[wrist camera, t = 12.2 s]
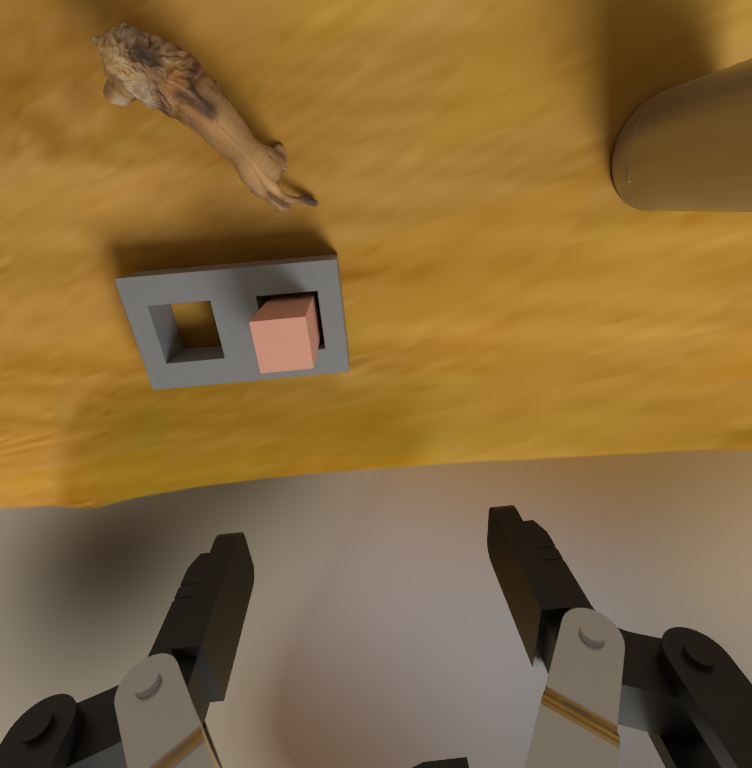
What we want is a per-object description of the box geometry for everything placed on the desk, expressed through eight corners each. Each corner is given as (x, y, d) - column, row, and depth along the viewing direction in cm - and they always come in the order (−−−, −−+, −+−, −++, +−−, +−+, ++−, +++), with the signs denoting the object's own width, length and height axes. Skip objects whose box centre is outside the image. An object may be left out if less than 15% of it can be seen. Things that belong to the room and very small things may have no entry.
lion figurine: (140, 111, 30) (64, 76, 22) (169, 41, 29) (98, -24, 21) (303, 229, 35) (289, 237, 27) (336, 174, 33) (332, 164, 25)
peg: (315, 289, 37) (305, 316, 28) (321, 329, 39) (313, 368, 29) (273, 293, 37) (249, 321, 28) (281, 333, 38) (260, 373, 29)
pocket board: (337, 253, 36) (336, 259, 32) (349, 356, 40) (349, 371, 36) (138, 271, 35) (114, 278, 32) (171, 373, 39) (153, 390, 36)
